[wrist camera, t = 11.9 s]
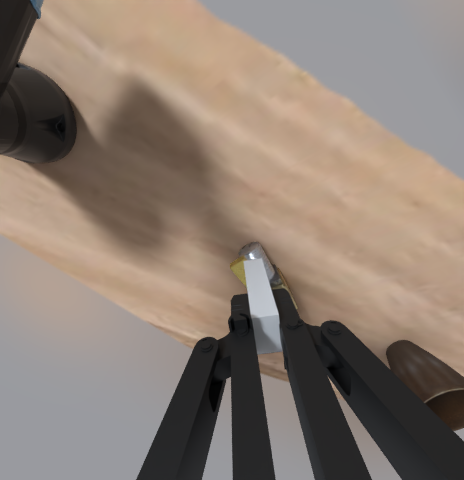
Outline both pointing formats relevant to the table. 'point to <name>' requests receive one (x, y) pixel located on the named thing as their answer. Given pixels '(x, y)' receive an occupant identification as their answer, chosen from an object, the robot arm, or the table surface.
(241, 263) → the lever
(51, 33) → the table surface
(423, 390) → the plant pot
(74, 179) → the table surface
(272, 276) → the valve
